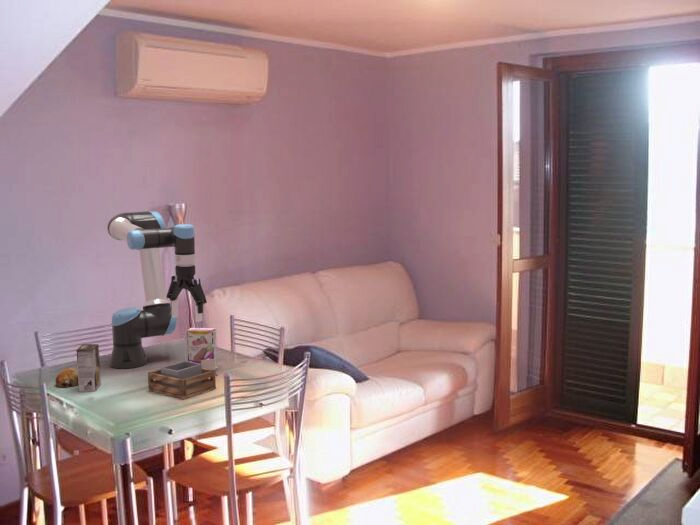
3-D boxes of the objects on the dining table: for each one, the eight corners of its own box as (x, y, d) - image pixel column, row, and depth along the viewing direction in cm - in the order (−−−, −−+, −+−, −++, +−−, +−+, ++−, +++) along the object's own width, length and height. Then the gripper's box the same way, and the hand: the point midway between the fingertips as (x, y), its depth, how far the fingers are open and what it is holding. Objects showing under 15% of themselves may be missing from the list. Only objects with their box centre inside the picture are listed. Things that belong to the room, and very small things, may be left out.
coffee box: (84, 385, 301) (81, 344, 299) (101, 384, 301) (99, 343, 299) (78, 392, 292) (75, 349, 290) (95, 391, 292) (93, 349, 290)
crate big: (148, 390, 292) (147, 372, 291) (180, 380, 305) (180, 363, 304) (183, 399, 281) (183, 380, 280) (215, 388, 294) (215, 370, 293)
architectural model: (199, 376, 312) (198, 358, 311) (216, 374, 315) (215, 356, 314) (201, 378, 309) (200, 360, 308) (218, 376, 312) (217, 358, 311)
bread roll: (86, 392, 304) (90, 371, 306) (69, 387, 295) (74, 366, 297) (65, 389, 307) (69, 369, 310) (48, 385, 298) (53, 364, 300)
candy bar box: (187, 369, 321) (186, 330, 319) (191, 366, 326) (189, 327, 324) (214, 369, 320) (213, 330, 318) (217, 366, 325) (216, 327, 323)
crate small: (161, 388, 291) (160, 367, 290) (185, 381, 300) (184, 360, 299) (178, 392, 286) (177, 371, 285) (202, 384, 295) (201, 364, 294)
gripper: (156, 263, 304) (158, 316, 307) (200, 269, 289) (201, 325, 293) (171, 260, 310) (173, 313, 313) (215, 266, 295) (216, 321, 298)
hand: (187, 319), depth 303 cm, fingers open, 13 cm apart
